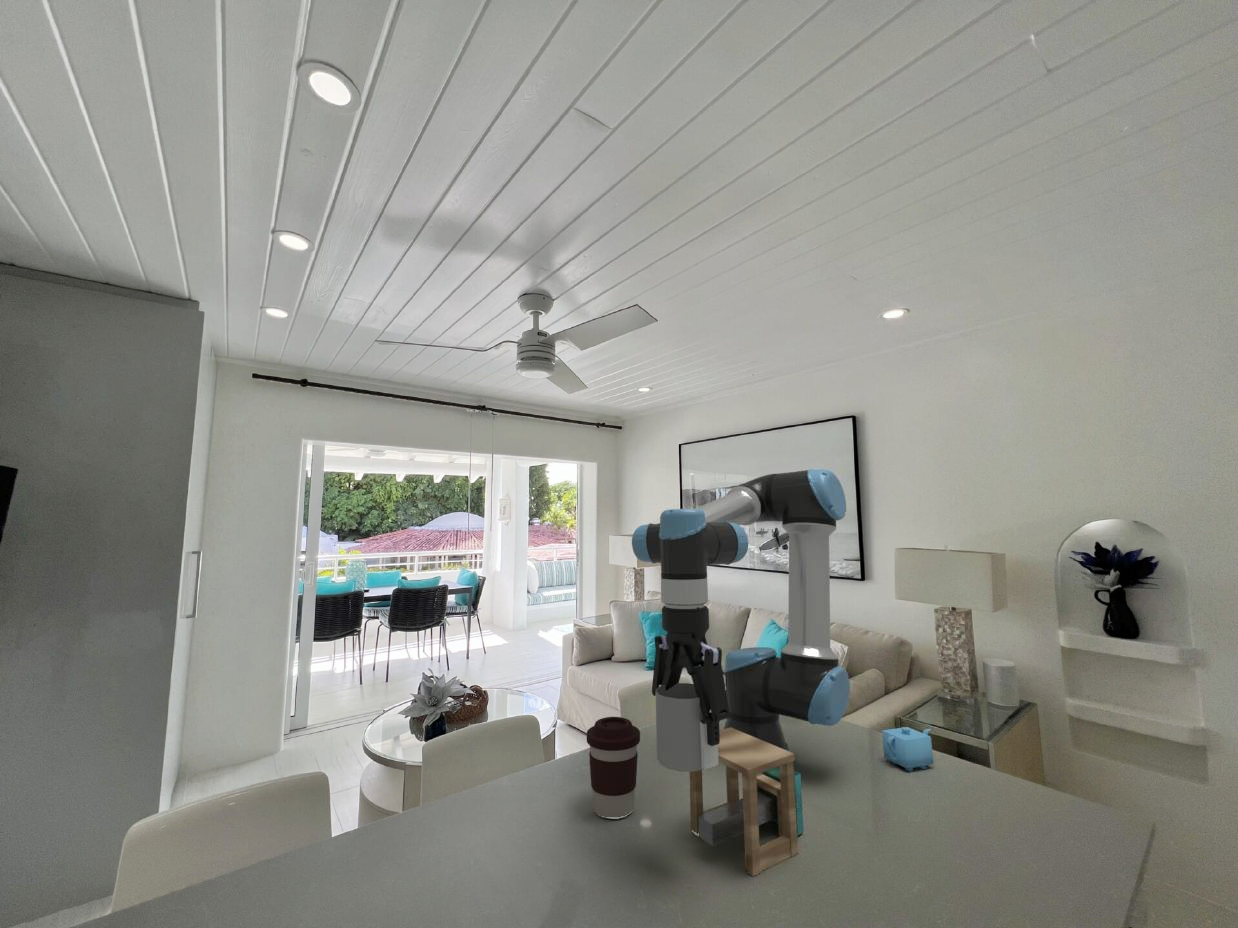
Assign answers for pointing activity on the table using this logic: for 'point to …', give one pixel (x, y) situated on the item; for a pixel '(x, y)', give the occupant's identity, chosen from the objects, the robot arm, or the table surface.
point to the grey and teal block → (731, 819)
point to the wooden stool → (754, 795)
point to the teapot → (908, 747)
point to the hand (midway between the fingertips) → (689, 755)
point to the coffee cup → (613, 765)
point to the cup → (678, 727)
